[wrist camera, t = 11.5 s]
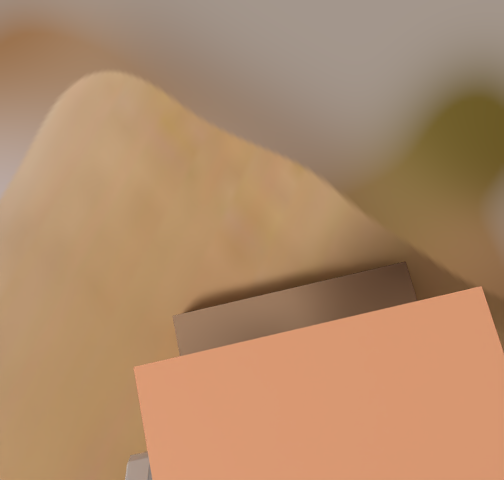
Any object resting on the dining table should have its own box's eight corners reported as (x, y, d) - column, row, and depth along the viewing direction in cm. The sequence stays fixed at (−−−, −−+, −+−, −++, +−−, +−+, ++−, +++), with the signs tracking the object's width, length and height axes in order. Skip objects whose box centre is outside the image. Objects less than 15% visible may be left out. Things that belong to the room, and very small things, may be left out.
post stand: (473, 511, 19) (603, 635, 11) (224, 565, 19) (177, 722, 11) (400, 265, 21) (464, 220, 13) (178, 317, 21) (111, 303, 13)
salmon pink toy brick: (428, 490, 15) (620, 704, 6) (255, 528, 15) (204, 787, 6) (379, 314, 16) (481, 285, 7) (218, 351, 16) (133, 367, 8)
